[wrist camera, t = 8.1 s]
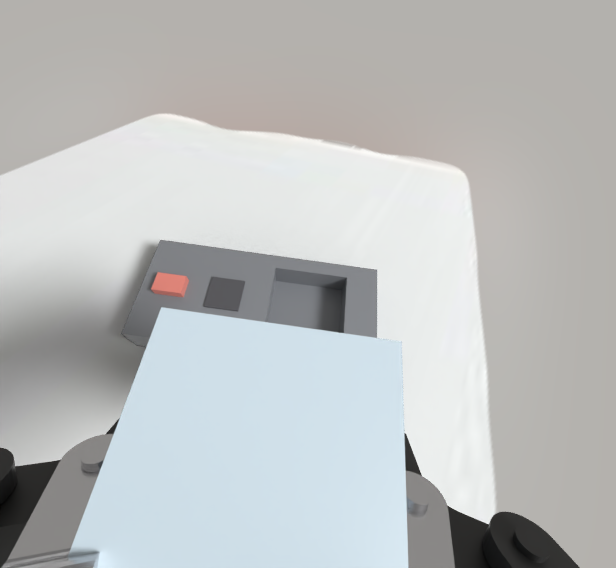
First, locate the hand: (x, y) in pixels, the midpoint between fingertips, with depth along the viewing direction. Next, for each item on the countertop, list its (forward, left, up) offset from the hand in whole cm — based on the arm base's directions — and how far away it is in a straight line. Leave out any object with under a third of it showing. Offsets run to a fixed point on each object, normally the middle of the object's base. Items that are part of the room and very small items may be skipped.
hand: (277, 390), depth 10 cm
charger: (0, -2, -5) cm, 5 cm away
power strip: (-3, +9, -16) cm, 19 cm away
